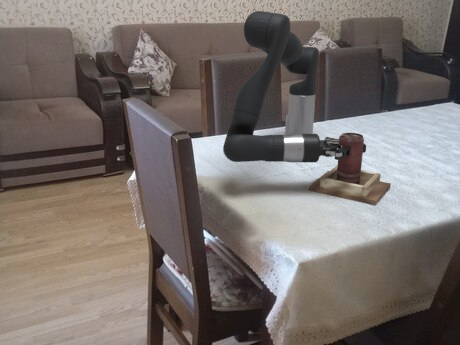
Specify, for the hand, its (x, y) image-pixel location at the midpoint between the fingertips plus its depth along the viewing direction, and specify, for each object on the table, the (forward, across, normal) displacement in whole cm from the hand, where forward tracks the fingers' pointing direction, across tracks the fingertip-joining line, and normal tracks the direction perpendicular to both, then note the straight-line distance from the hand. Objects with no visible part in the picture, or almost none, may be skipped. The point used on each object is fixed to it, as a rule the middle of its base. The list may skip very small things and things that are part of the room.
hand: (365, 147), depth 119 cm
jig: (-3, 0, +12) cm, 12 cm away
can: (-4, 0, +11) cm, 11 cm away
